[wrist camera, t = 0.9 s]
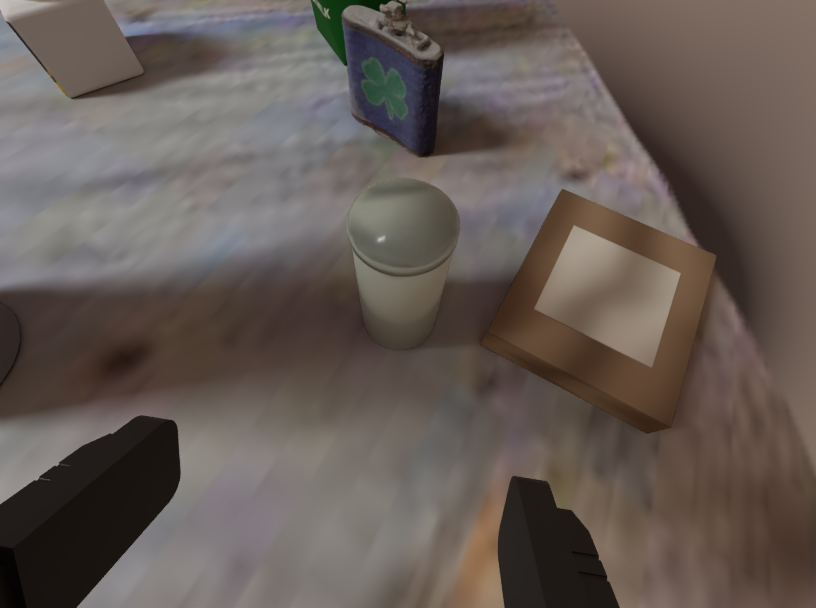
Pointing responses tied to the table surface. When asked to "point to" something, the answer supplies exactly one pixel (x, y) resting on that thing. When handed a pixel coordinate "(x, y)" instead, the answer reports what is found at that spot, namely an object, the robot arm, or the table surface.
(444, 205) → the canister
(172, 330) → the table surface
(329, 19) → the milk carton
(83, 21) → the medicine bottle
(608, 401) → the pedestal
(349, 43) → the flask
